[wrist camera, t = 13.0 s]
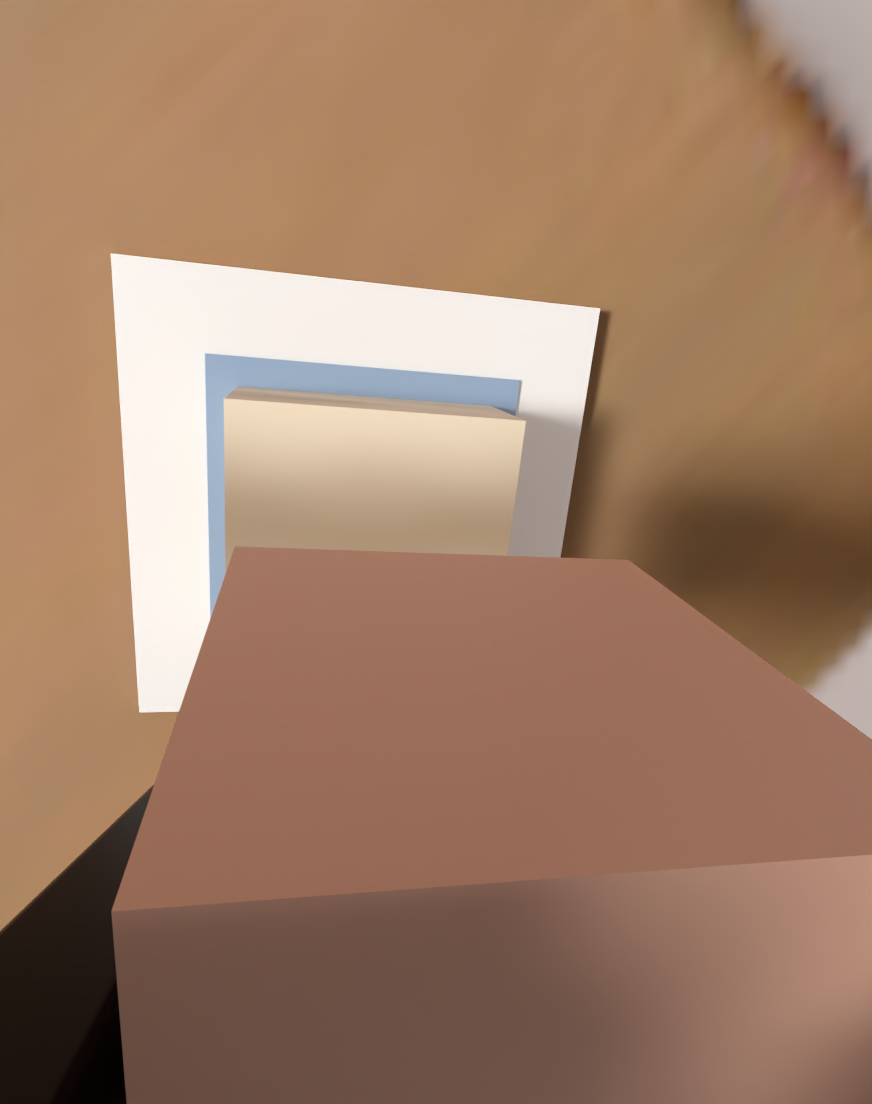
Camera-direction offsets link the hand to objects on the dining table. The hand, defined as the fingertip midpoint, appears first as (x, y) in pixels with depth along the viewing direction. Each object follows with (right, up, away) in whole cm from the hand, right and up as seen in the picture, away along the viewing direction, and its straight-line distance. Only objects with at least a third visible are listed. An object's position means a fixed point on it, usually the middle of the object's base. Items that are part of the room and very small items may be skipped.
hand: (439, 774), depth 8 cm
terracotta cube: (0, 0, +1) cm, 1 cm away
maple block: (-2, +4, +10) cm, 11 cm away
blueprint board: (-2, +4, +10) cm, 11 cm away
